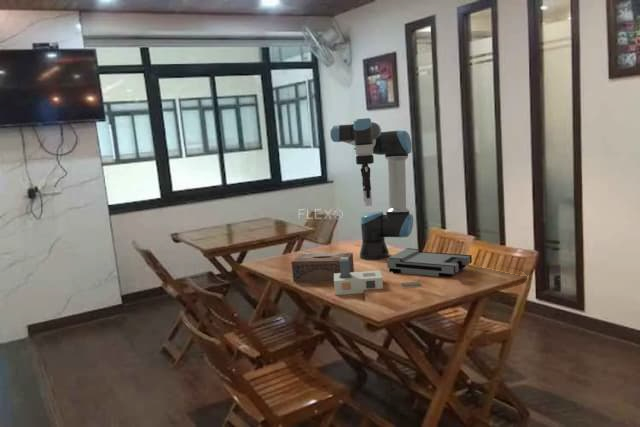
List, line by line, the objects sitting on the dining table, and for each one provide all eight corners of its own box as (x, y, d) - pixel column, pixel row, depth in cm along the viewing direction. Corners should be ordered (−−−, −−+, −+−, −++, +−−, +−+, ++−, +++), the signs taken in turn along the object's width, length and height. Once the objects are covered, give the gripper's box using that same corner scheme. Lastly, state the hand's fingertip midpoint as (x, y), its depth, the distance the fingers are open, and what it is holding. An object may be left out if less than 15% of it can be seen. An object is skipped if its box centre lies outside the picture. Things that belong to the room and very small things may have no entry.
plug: (350, 286, 238) (348, 256, 236) (351, 288, 234) (349, 258, 232) (341, 286, 238) (339, 257, 236) (341, 289, 234) (339, 259, 232)
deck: (400, 286, 235) (400, 282, 235) (419, 284, 235) (419, 281, 235) (403, 291, 228) (402, 288, 227) (422, 290, 227) (422, 286, 227)
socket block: (334, 286, 242) (333, 273, 242) (380, 283, 242) (379, 270, 241) (334, 295, 230) (333, 281, 229) (383, 291, 230) (382, 277, 229)
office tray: (454, 282, 236) (453, 263, 235) (387, 275, 255) (386, 258, 254) (472, 270, 253) (471, 252, 251) (408, 264, 271) (407, 248, 270)
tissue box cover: (354, 273, 263) (352, 252, 262) (348, 282, 249) (346, 260, 248) (302, 274, 270) (300, 253, 268) (293, 282, 256) (291, 261, 254)
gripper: (354, 154, 252) (357, 200, 255) (356, 156, 227) (360, 208, 230) (371, 152, 251) (374, 199, 255) (375, 155, 227) (378, 206, 230)
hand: (367, 203), depth 243 cm, fingers open, 13 cm apart
